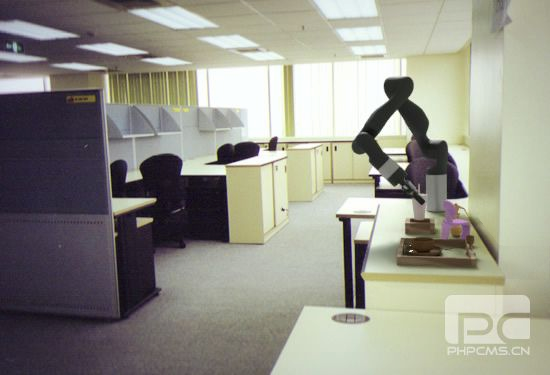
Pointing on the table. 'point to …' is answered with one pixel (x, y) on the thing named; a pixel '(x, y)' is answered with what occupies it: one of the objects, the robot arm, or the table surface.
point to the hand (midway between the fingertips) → (423, 201)
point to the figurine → (457, 229)
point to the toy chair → (453, 221)
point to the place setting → (430, 246)
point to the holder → (420, 226)
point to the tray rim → (437, 260)
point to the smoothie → (419, 206)
